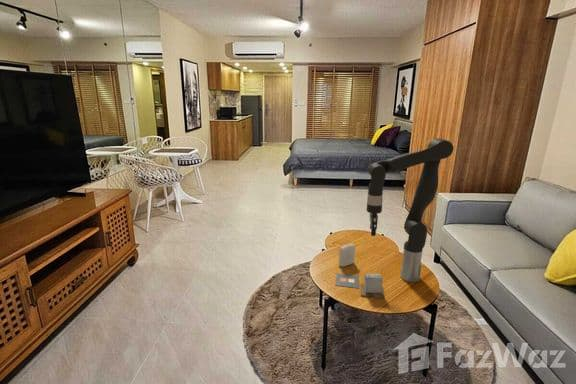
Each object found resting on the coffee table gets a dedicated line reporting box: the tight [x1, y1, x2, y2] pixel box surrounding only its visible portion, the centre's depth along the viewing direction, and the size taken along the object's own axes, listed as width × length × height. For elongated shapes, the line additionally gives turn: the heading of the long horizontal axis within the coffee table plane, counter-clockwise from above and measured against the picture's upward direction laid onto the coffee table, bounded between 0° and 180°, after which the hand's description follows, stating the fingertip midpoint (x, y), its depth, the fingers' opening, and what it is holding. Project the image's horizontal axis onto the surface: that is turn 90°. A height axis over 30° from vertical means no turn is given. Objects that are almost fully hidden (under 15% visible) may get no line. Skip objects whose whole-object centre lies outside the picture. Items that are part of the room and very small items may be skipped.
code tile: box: [334, 272, 360, 289], centre depth 166 cm, size 12×12×1 cm
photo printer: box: [338, 243, 356, 268], centre depth 181 cm, size 10×4×12 cm, turn 123°
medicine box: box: [363, 273, 383, 293], centre depth 154 cm, size 8×4×9 cm, turn 89°
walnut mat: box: [360, 284, 385, 300], centre depth 156 cm, size 11×9×1 cm
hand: (372, 232), depth 162 cm, fingers open, 8 cm apart
